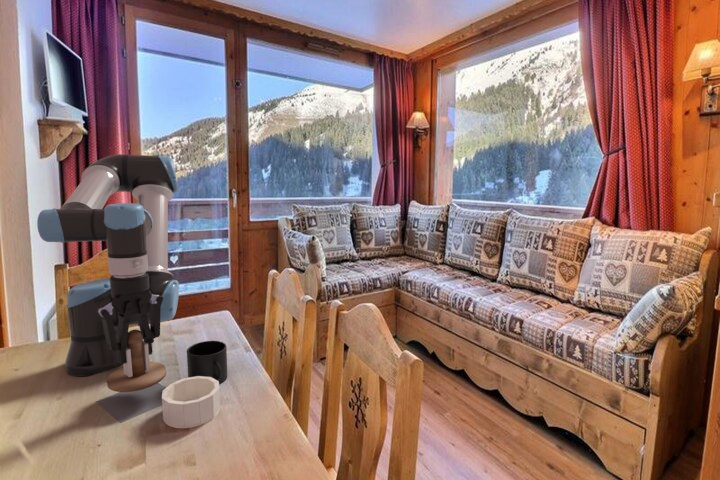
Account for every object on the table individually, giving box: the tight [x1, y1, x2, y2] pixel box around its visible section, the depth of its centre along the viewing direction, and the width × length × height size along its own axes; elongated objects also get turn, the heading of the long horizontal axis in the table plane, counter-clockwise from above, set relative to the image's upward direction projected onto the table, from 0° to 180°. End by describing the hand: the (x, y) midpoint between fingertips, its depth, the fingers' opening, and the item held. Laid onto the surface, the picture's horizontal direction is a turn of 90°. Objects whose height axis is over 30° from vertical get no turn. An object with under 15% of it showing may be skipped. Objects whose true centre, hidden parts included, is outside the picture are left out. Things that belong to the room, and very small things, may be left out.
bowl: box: [161, 376, 221, 429], centre depth 88 cm, size 12×12×6 cm
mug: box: [186, 340, 228, 386], centre depth 102 cm, size 9×12×9 cm
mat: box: [95, 382, 167, 424], centre depth 93 cm, size 13×13×1 cm
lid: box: [106, 328, 167, 393], centre depth 92 cm, size 12×12×12 cm
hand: (137, 371), depth 93 cm, fingers closed on lid, 3 cm apart
